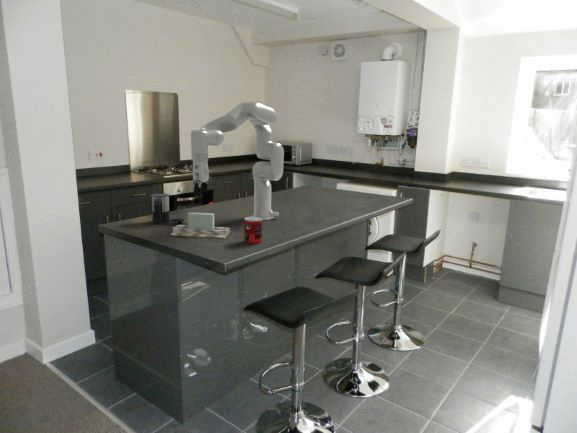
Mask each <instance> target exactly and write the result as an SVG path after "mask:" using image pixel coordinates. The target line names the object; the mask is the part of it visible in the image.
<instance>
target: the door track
mask: <svg viewBox="0 0 577 433" xmlns="http://www.w3.org/2000/svg"><path fill="white" fill-rule="evenodd" d="M231 232H232V230H231V229H230V227H224V226H214V230H209V229H190V228H188V224H186V225H185V224H176V226H173V227H172V232H171V233H170V236H174V237H177V236H178V237H193V238H194V237H195V238H208V239H209V238H210V239H226V238H227V237H228V235H229V234H231Z"/></svg>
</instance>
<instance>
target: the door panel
mask: <svg viewBox="0 0 577 433" xmlns="http://www.w3.org/2000/svg"><path fill="white" fill-rule="evenodd" d="M187 225H188V228H190V229H209V230H214V227H215V213H212V212H211V213H208V212H188V213H187Z"/></svg>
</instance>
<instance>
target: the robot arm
mask: <svg viewBox="0 0 577 433" xmlns="http://www.w3.org/2000/svg"><path fill="white" fill-rule="evenodd" d="M247 121H249V122H250V124H251V125H252V126H253V128H254V129H255V130H254V131H255V133H256V139H255V140H256V143H255V146H256V147H255V154H256V157H257V158H258V159H261V160H268V161H257V162H255V163H254V164H253V166H252V176H253V185H254V187H253V189H254V190H253V191H254V192H253V193H254V194H253V198H254V199H253V200H254V201H253V214H252V215H251V216H250V217H260V218H262V221H269V220H273V219H274V218H275V217H274V216H276V217H277V216H278V217H279V215H280V213H279V211H273V209H272V183H271V181H275V182H277V181H279V180H281V178H282V177H283V175H284V159H285V158H284V157H285V150H284V146H283V145H282V144H281V143H279V142H276V141H275V142H274V141H273V131H272V128H271V127H270V126H273V125H275V124H276V122H277V121H278V114H277V112H276V110H275V109H274V108H272V107H270V106H266V105H264V104H263V103H260V102H254V101H253V102H251V101H248V102H247V101H246V102H240V103H239V104H237V105H236V106H234V107H233V108H232V109H231V110H230V111H229V112H227V113H226V114H224V115H222V116H220V117H217V118H215V119H212V120H211V121H209V122H207V123H206V124H204V125H202V127H200V128H199V129H193V130H191V132H190V148H191V150H190V151H191V156H190V157H191V161H192V181H193V183H192V184H193V195H194V197H196V196H197V197H200V196H202V193H208V181H209V179H210V173H209V171H210V170H209V163H208V161H209V147H208V146H212V147H213V146H214V147H216V146H217V147H218V146H220V145H222V144H223V143H224V141H225V135H224V133H229V132H232V131H235V130H237V129H239V127H240V126H242V125H243V124H244V123H246V122H247Z"/></svg>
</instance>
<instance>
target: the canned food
mask: <svg viewBox="0 0 577 433" xmlns="http://www.w3.org/2000/svg"><path fill="white" fill-rule="evenodd" d="M243 219H244V220H243V221H244V223H243V226H244V229H243V233H244V234H243V235H244V236H243V237H244V243H245V244H248V245H259V244H261V243H262V241H263V220H262V218H260V217H251V216H247V217H244V218H243Z"/></svg>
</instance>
